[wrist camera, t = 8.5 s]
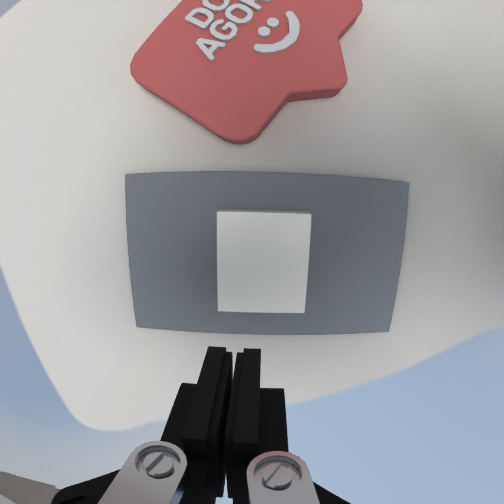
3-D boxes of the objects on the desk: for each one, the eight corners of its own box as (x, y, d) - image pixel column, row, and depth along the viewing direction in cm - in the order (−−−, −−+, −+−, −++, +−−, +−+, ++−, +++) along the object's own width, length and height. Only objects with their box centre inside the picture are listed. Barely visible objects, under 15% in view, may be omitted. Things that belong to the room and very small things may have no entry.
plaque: (275, 175, 21) (116, 70, 19) (272, 175, 24) (134, 83, 23) (400, 18, 17) (254, -65, 15) (384, 34, 21) (254, -43, 19)
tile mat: (406, 182, 24) (408, 182, 23) (386, 329, 27) (388, 331, 27) (127, 174, 24) (125, 174, 24) (138, 324, 28) (136, 326, 27)
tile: (311, 214, 23) (217, 211, 23) (304, 313, 24) (217, 311, 25) (307, 211, 24) (219, 209, 24) (301, 304, 26) (220, 302, 26)
